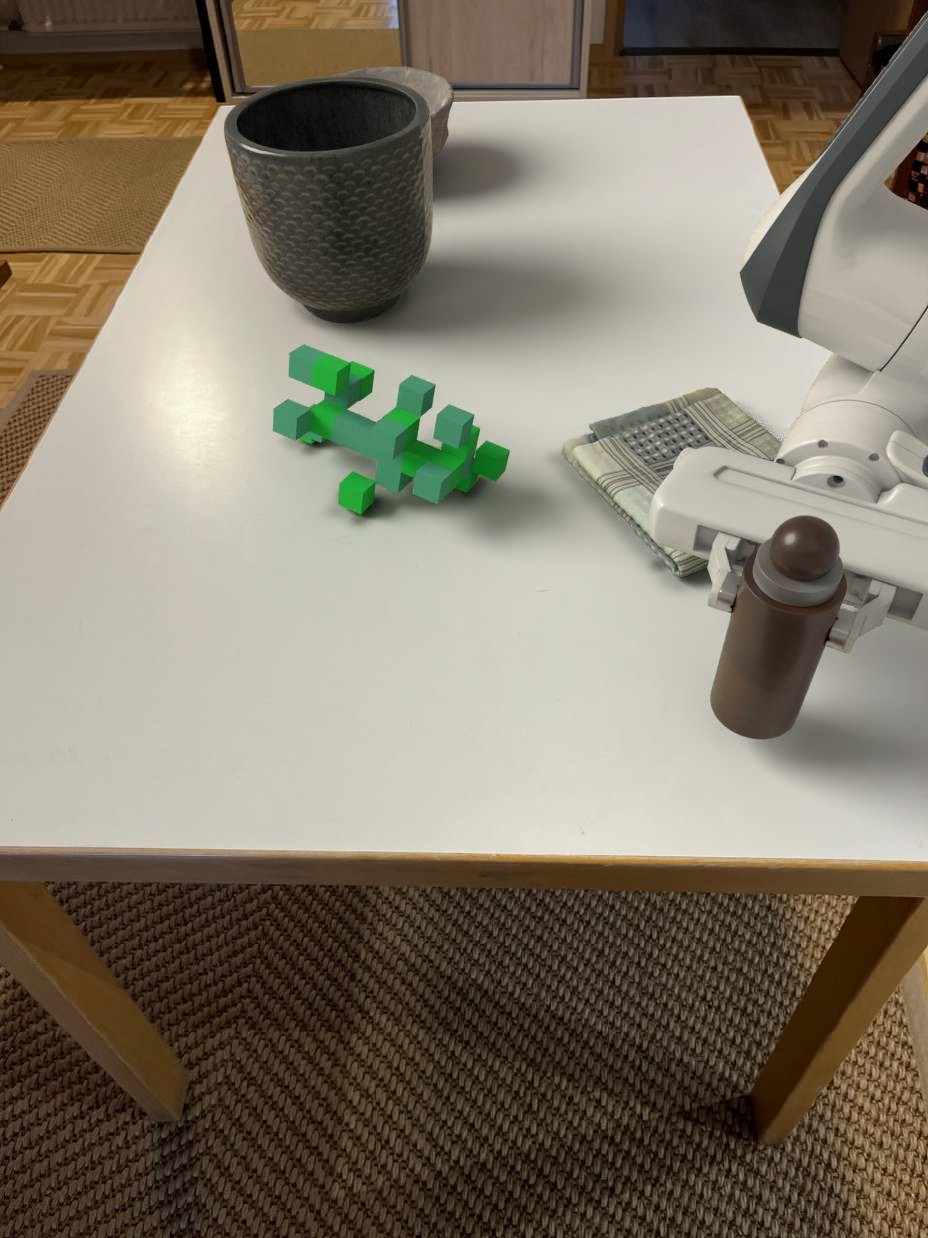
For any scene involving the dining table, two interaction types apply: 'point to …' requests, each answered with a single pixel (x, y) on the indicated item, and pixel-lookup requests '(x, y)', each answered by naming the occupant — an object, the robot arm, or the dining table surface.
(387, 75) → the bowl
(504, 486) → the dining table surface
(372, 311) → the planter
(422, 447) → the building blocks
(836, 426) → the robot arm
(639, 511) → the dish towel
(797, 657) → the pepper mill
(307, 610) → the dining table surface
